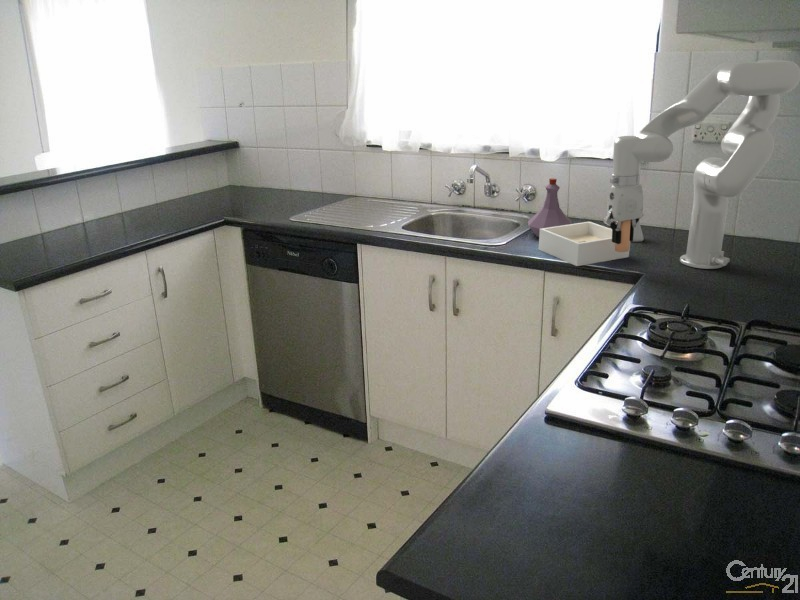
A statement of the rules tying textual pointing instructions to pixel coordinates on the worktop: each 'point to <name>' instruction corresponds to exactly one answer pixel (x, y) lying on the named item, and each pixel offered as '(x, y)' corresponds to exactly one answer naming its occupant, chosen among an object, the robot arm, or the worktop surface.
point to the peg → (624, 237)
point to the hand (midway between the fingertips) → (622, 240)
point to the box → (580, 243)
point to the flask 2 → (637, 233)
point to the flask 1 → (549, 211)
